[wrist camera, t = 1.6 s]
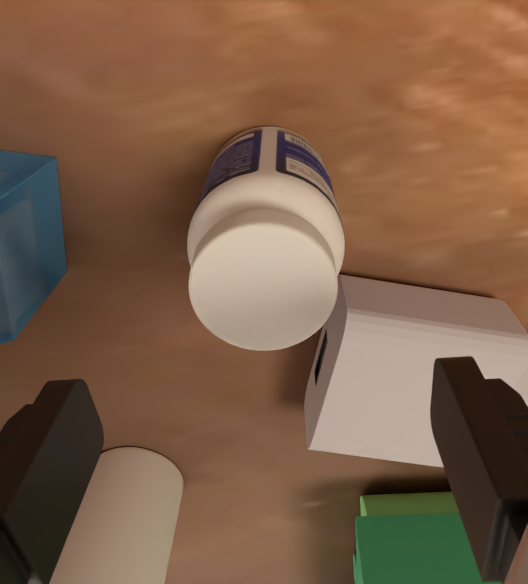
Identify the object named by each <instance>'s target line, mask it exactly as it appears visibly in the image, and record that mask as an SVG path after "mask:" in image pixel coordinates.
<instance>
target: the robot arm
mask: <svg viewBox="0 0 528 584" xmlns="http://www.w3.org/2000/svg"><path fill="white" fill-rule="evenodd" d="M430 420H431V427H432V432H433V436H434V440H435V443H436V446H437V449H438V451H439V454H440V457H441V460H442V463H443V466H444V469H445V472H446V475H447V478H448V481H449V484H450V487H451V490H452V493H453V496H454V499H455V502H456V505H457V508H458V511H459V514H460V517H461V520H462V523H463V525H464V528H465V531H466V534H467V537H468V540H469V543H470V546H471V549H472V552H473V555H474V558H475V561H476V564H477V567H478V570H479V573H480V576H481V579H482V582H502V584H528V406H527V405H526V403H525V401H524V400H523V398H522V396H521V395H520V394H519V393H518V392H517V391H515V390H514V389H513V388H512V387H511V386H509V385H508V384H507V383H506V382H504V381H503V380H502V379H501V378H496V379H485V378H484V376H483V374H482V372H481V370H480V369H479V367H478V365H477V363H476V361H475V359H474V358H473V357H472V356H463V357H447V358H436V359H435V362H434V369H433V381H432V393H431V404H430ZM103 442H104V433H103V427H102V424H101V421H100V418H99V416H98V413H97V410H96V408H95V405H94V402H93V400H92V397H91V394H90V392H89V389H88V386H87V384H86V383H85V381H84V380H82V379H72V380H56V381H49V382H47V383H46V384H45V385H44V387H43V388H42V390H41V391H40V393H39V395H38V396H37V398H36V400H35V401H34V403H33V404H26V405H25V406H24V407H23V408H22V409H20V410H19V411H18V412H17V413H16V414H15V415H14V416H12V417H11V418H10V419H9V420H8V421H7V422H6V424H5V425H4V427H3V428H2V430H1V431H0V584H49V583H50V580H51V578H52V575H53V573H54V570H55V568H56V565H57V563H58V560H59V558H60V555H61V553H62V550H63V548H64V545H65V543H66V540H67V537H68V535H69V532H70V530H71V527H72V525H73V522H74V520H75V517H76V515H77V512H78V510H79V507H80V505H81V502H82V500H83V497H84V495H85V492H86V490H87V487H88V485H89V482H90V480H91V477H92V475H93V472H94V470H95V467H96V465H97V462H98V460H99V457H100V455H101V452H102V448H103Z"/></svg>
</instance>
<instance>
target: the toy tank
mask: <svg viewBox="0 0 528 584" xmlns="http://www.w3.org/2000/svg"><path fill="white" fill-rule="evenodd" d="M360 512H361V516H355V534H356V554H353V572H354V582H355V584H502V582H482V579H481V576H480V573H479V570H478V567H477V564H476V561H475V558H474V555H473V552H472V549H471V546H470V543H469V540H468V537H467V534H466V531H465V528H464V525H463V523H462V520H461V517H460V514H459V511H458V508H457V505H456V502H455V499H454V496H453V493H452V491H450V492H427V493H405V494H382V495H361V497H360Z"/></svg>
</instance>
